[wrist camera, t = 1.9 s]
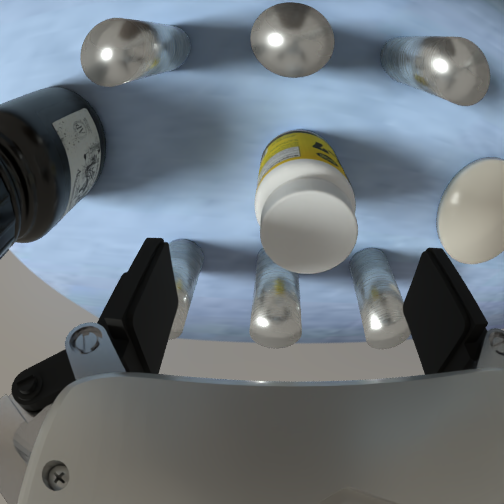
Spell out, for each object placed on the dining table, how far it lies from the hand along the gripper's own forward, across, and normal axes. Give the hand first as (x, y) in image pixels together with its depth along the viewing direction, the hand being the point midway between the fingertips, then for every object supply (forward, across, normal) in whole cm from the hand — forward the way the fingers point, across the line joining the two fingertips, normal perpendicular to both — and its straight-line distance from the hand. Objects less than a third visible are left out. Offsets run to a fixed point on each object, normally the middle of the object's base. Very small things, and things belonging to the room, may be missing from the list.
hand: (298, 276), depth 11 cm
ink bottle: (+11, +16, -3) cm, 20 cm away
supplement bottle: (+11, -1, -1) cm, 11 cm away
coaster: (+10, -16, +2) cm, 19 cm away
